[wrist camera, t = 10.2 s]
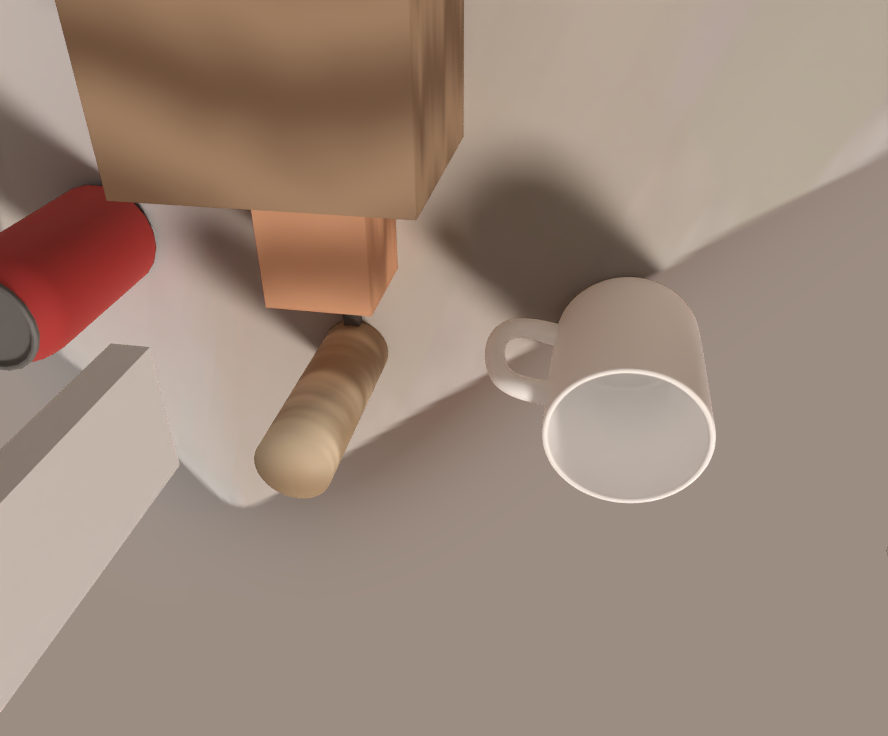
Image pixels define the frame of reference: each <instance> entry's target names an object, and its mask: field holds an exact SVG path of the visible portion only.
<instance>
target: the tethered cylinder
mask: <svg viewBox="0 0 888 736" xmlns="http://www.w3.org/2000/svg"><path fill="white" fill-rule="evenodd" d="M251 213H252V220H253V227H254V233H255V240H256V246H257V253H258V259H259V266H260V273H261V279H262V286H263V292H264V299H265V305H266V308H278V309H290V310H301V311H313V312H325V313H336V314H343V320H344V321H343V322H340V323H338V324H336V325H335V326H333V327H332V328H331V329H330V331H329V332H328V334H327V335H326V337H325V338H324V340H323V342H322V343H321V345H320V347H319V348H318V350H317V351H316V353H315V355H314V356H313V358H312V360H311V361H310V363H309V364H308V366H307V368H306V369H305V371H304V373H303V374H302V376H301V377H300V379H299V381H298V382H297V384H296V386H295V387H294V389H293V390H292V392H291V394H290V395H289V397H288V399H287V400H286V402H285V403H284V405H283V407H282V408H281V410H280V412H279V413H278V415H277V416H276V418H275V420H274V421H273V423H272V425H271V426H270V428H269V429H268V431H267V433H266V434H265V436H264V438H263V439H262V441H261V442H260V444H259V446H258V447H257V449H256V452H255V456H254V461H255V466H256V469H257V471H258V473H259V475H260V476H261V478H262V479H263V480H264V481H265V482H266V483H267V484H268V485H269V486H270V487H272V488H273V489H274V490H276V491H278V492H280V493H282V494H284V495H287V496H290V497H295V498H311V497H315V496H317V495H319V494H321V493H323V492H324V491H325V490H326V489H327V487H328V486H329V484H330V482H331V480H332V478H333V476H334V473H335V471H336V469H337V467H338V465H339V463H340V461H341V458H342V456H343V454H344V452H345V450H346V448H347V446H348V443H349V441H350V439H351V437H352V435H353V433H354V430H355V428H356V426H357V424H358V422H359V420H360V418H361V415H362V413H363V411H364V409H365V407H366V405H367V402H368V400H369V398H370V396H371V394H372V392H373V390H374V387H375V385H376V383H377V381H378V379H379V377H380V375H381V372H382V370H383V368H384V366H385V364H386V361H387V358H388V348H387V344H386V342H385V340H384V338H383V337H382V335H381V334H380V333H379V332H378V331H377V330H376V329H375V328H373V327H372V326H370V325H368V324H366V323H363V322H362V316H371V317H372V315H373V313H374V311H375V309H376V307H377V305H378V304H379V302H380V300H381V298H382V296H383V294H384V293H385V291H386V289H387V287H388V285H389V283H390V282H391V280H392V278H393V276H394V274H395V272H396V270H397V269H398V263H397V241H396V220H395V219H389V218H373V217H357V216H341V215H325V214H309V213H293V212H277V211H261V210H251Z"/></svg>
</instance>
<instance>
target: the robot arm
mask: <svg viewBox="0 0 888 736" xmlns="http://www.w3.org/2000/svg"><path fill="white" fill-rule="evenodd" d="M178 466H179V461H178V457H177V453H176V449H175V445H174V441H173V437H172V433H171V429H170V425H169V421H168V417H167V413H166V409H165V405H164V402H163V398H162V394H161V390H160V386H159V382H158V378H157V374H156V370H155V366H154V362H153V358H152V354H151V350H150V347H142V346H131V345H121V344H110V345H109V346H108V347H107V348H106V349H105V350H104V351H103V352H102V353H101V354H99V355H98V356H97V357H96V358H95V359H94V360H93V361H92V362H91V363H90V364H89V365H88V366H87V367H86V368H85V369H84V370H83V371H82V372H81V373H80V374H79V375H78V376H77V377H76V378H75V379H73V380H72V381H71V382H70V383H69V384H68V385H67V386H66V387H65V388H64V389H63V390H62V391H61V392H60V393H59V394H58V395H57V396H56V397H55V398H53V399H52V400H51V401H50V402H49V403H48V404H47V405H46V406H45V407H44V408H43V409H42V410H41V411H40V412H39V413H38V414H37V415H36V416H35V417H34V418H33V419H32V420H31V421H29V422H28V423H27V424H26V425H25V426H24V427H23V428H22V429H21V430H20V431H19V432H18V433H17V434H16V435H15V436H14V437H13V438H12V439H11V440H10V441H9V442H7V443H6V444H5V445H4V446H3V447H2V448H1V449H0V712H1V711H2V709H3V708H4V707H5V705H6V704H7V702H8V701H9V700H10V698H11V697H12V696H13V694H14V693H15V691H16V690H17V689H18V687H19V686H20V684H21V683H22V682H23V680H24V679H25V678H26V676H27V675H28V673H29V672H30V671H31V669H32V668H33V666H34V665H35V664H36V662H37V661H38V660H39V658H40V657H41V656H42V654H43V653H44V651H45V650H46V649H47V647H48V646H49V645H50V643H51V642H52V640H53V639H54V638H55V636H56V635H57V634H58V632H59V631H60V629H61V628H62V627H63V625H64V624H65V622H66V621H67V620H68V618H69V617H70V616H71V614H72V613H73V611H74V610H75V609H76V607H77V606H78V605H79V603H80V602H81V600H82V599H83V598H84V596H85V595H86V593H87V592H88V591H89V589H90V588H91V587H92V585H93V584H94V582H95V581H96V580H97V578H98V577H99V575H100V574H101V573H102V571H103V570H104V569H105V567H106V566H107V564H108V563H109V562H110V560H111V559H112V557H113V556H114V555H115V553H116V552H117V551H118V549H119V548H120V546H121V545H122V544H123V542H124V541H125V540H126V538H127V537H128V536H129V534H130V533H131V531H132V530H133V529H134V527H135V526H136V524H137V523H138V521H139V520H140V519H141V517H142V516H143V515H144V513H145V512H146V511H147V509H148V508H149V507H150V505H151V504H152V502H153V501H154V500H155V498H156V497H157V495H158V494H159V493H160V491H161V490H162V489H163V487H164V486H165V484H166V483H167V482H168V480H169V479H170V478H171V476H172V475H173V473H174V472H175V471H176V469H177V468H178ZM886 552H887V554H888V547H887V550H886Z"/></svg>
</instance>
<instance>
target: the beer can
mask: <svg viewBox="0 0 888 736" xmlns="http://www.w3.org/2000/svg"><path fill="white" fill-rule="evenodd" d="M155 252H156V243H155V238H154V233H153V230H152V228H151V226H150V224H149V222H148V220H147V218H146V216H145V215H144V214H143V213H142V212H141V211H140V209H139V208H138V207H137V206H136V205H135V204H134V203H133V202H118V201H107V200H106V196H105V192H104V188H103V186H94V185H84V186H80V187H76V188H73V189H71V190H69V191H68V192H66V193H64V194H63V195H61V196H60V197H58V198H56V199H55V200H53V201H51V202H50V203H48V204H46V205H45V206H43V207H41V208H40V209H38V210H37V211H35V212H33V213H32V214H30V215H28V216H27V217H25V218H23V219H22V220H20V221H18V222H17V223H15V224H13V225H12V226H10V227H9V228H7V229H5V230H4V231H2V232H0V369H1V370H9V371H10V370H15V369H21V368H23V367H25V366H26V365H28V364H29V363H30V362H34V361H37V360H41V359H44V358H46V357H48V356H50V355H53V354H54V353H56V352H57V351H59V350H60V349H62V348H63V347H65V346H66V345H67V344H68V343H69V342H70V341H71V340H72V339H74V338H75V337H76V336H77V335H78V334H79V333H80V332H82V331H83V330H84V329H85V328H86V327H87V326H88V325H89V324H91V323H92V322H93V321H94V320H95V319H96V318H97V317H98V316H100V315H101V314H102V313H103V312H104V311H105V310H106V309H108V308H109V307H110V306H111V305H112V304H113V303H114V302H115V301H117V300H118V299H119V298H120V297H121V296H122V295H123V294H125V293H126V292H127V291H128V290H129V289H130V288H131V287H132V286H134V285H135V284H136V283H137V282H138V281H139V280H140V279H142V278H143V277H144V276H145V275H146V274H147V273H148V272H149V270H150V268H151V267H152V265H153V263H154V259H155Z"/></svg>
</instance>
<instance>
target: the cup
mask: <svg viewBox="0 0 888 736" xmlns="http://www.w3.org/2000/svg"><path fill="white" fill-rule="evenodd" d="M515 338H526V339H532V340H535V341H539V342H542V343H545V344H548V345H551V346H553V354H552V360H551V368H550V375H549V381H546V380H541V379H536V378H531V377H527V376H523V375H520V374H517V373H515V372H513V371H512V370H511V369H510V368H509V367H508V365H507V363H506V360H505V348H506V345H507V343H508V342H509V341H510V340H512V339H515ZM485 363H486V368H487V371H488V374H489V376H490V378H491V379H492V381H493V382H494V384H495V385H496V386H497V387H498V388H499V389H501V390H502V391H503V392H505V393H507V394H509V395H511V396H513V397H515V398H519V399H521V400H524V401H528V402H532V403H535V404H539V405H543V406H545V412H544V418H543V425H542V442H543V447H544V450H545V453H546V455H547V458H548V460H549V462H550V463H551V465H552V466H553V467H554V469H555V470H556V471H557V473H558V474H559V475H560V476H561V477H562V478H563V479H564V480H565V481H567V482H568V483H569V484H571V485H572V486H573V487H575V488H577V489H578V490H580V491H582V492H584V493H586V494H589V495H591V496H594V497H596V498H599V499H603V500H607V501H613V502H620V503H641V502H649V501H654V500H658V499H662V498H665V497H668V496H670V495H672V494H674V493H677V492H679V491H680V490H682V489H684V488H685V487H687V486H688V485H690V484H691V483H692V482H693V481H695V480H696V479H697V478H698V477H699V476H700V475H701V473H702V472H703V471H704V469H705V468H706V466H707V465H708V463H709V462H710V459H711V457H712V455H713V452H714V448H715V441H716V440H715V439H716V431H715V425H714V418H713V412H712V405H711V399H710V394H709V387H708V381H707V375H706V369H705V362H704V357H703V350H702V344H701V338H700V333H699V328H698V325H697V322H696V319H695V317H694V315H693V313H692V311H691V309H690V308H689V306H688V305H687V304H686V302H685V301H684V300H683V299H682V298H681V297H680V296H679V295H677V294H676V293H675V292H674V291H672V290H671V289H669V288H667V287H665V286H664V285H662V284H660V283H657V282H654V281H652V280H648V279H644V278H637V277H620V278H613V279H608V280H605V281H601V282H599V283H596V284H594V285H592V286H590V287H589V288H587V289H585V290H584V291H582V292H581V293H580V294H578V295H577V296H576V297H575V298H574V299H573V300H572V301H571V302H570V303H569V304H568V306H567V307H566V309H565V310H564V312H563V314H562V316H561V318H560V320H559V323H558V324H557V323H553V322H549V321H544V320H539V319H531V318H516V319H510V320H507V321H505V322H503V323H501V324H500V325H498V326H497V327H496V328H495V329H494V330H493V331H492V333H491V334H490V336H489V338H488V340H487V343H486V349H485Z"/></svg>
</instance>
